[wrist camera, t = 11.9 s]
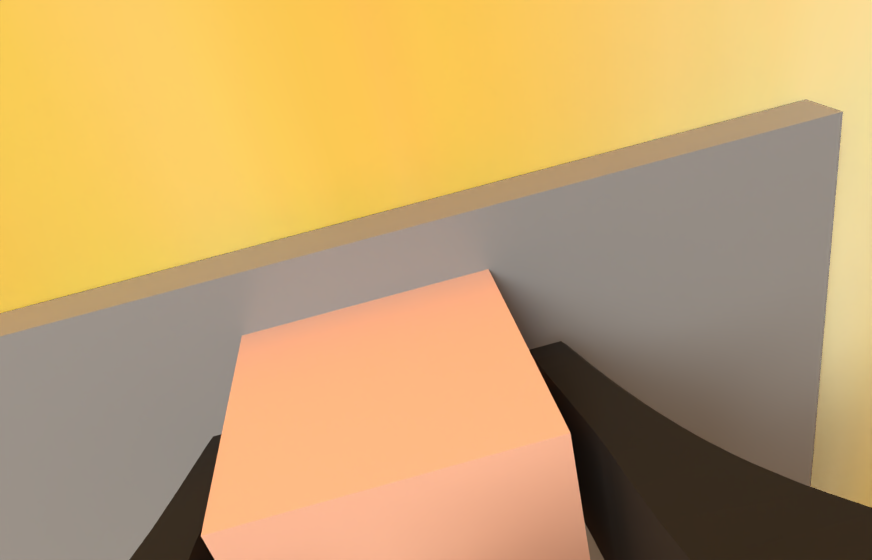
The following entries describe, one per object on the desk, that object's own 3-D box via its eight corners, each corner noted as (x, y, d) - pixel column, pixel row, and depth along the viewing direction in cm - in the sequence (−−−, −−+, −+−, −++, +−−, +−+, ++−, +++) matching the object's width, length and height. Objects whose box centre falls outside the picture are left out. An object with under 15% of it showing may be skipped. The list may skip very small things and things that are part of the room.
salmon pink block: (488, 268, 12) (570, 433, 8) (526, 452, 14) (604, 651, 10) (241, 335, 12) (201, 535, 8) (318, 510, 14) (317, 735, 10)
